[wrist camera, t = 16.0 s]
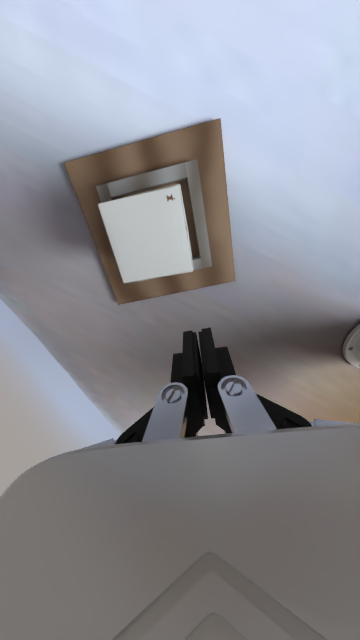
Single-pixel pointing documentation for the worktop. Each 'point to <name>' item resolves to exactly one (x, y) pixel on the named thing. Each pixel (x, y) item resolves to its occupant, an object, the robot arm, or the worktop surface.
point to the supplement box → (149, 234)
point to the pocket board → (153, 173)
